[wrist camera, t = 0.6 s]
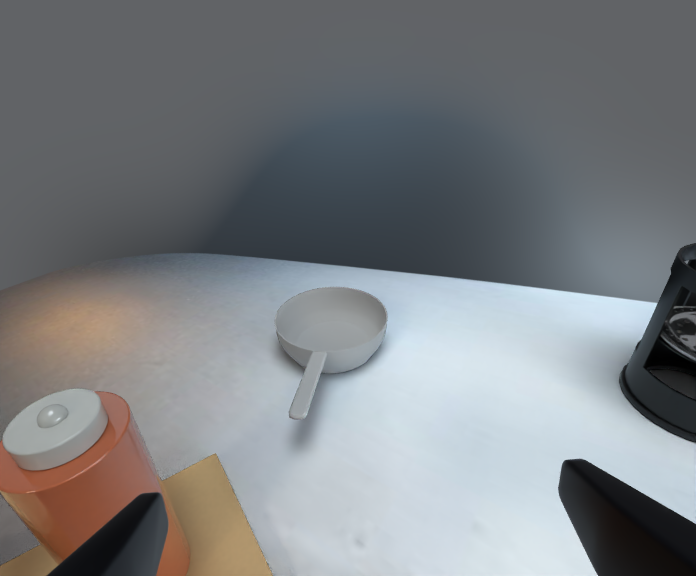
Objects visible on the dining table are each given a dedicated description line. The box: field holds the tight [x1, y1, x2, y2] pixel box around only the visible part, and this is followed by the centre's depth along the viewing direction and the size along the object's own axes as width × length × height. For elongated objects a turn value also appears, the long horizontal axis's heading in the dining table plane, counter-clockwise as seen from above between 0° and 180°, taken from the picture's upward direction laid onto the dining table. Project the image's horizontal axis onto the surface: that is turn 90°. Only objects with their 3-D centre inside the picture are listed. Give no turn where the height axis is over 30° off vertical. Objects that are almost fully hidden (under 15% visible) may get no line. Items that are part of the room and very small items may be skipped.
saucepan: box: [275, 287, 387, 420], centre depth 35 cm, size 11×18×4 cm, turn 171°
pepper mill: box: [0, 388, 191, 576], centre depth 18 cm, size 5×5×12 cm
